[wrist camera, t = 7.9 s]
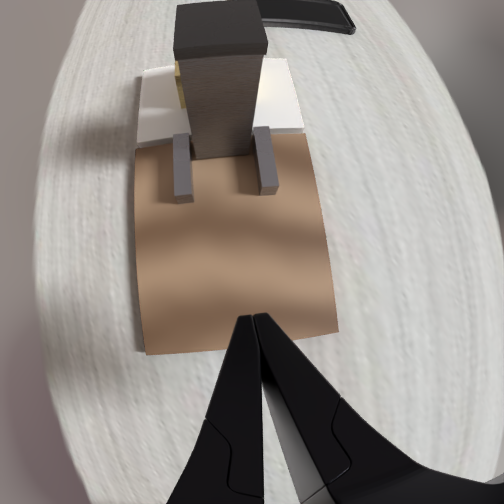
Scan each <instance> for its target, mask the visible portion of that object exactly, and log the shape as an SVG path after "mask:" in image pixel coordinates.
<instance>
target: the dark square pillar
mask: <svg viewBox="0 0 504 504" xmlns="http://www.w3.org/2000/svg"><path fill="white" fill-rule="evenodd" d="M267 48H268V40H267V36H266V33H265V29H264V25H263V22H262V18H261V15H260V11H259V8H258V5H257V1H256V0H232V1H213V2H201V3H191V4H183V5H177V10H176V20H175V32H174V45H173V51H174V57H175V61H178V65H179V71H180V76H181V82H182V88H183V93H184V98H185V104H186V109H187V114H188V119H189V124H190V129H191V134H192V139H193V144H194V149H195V154H196V159H205V158H214V157H225V156H236V155H249V149H250V142H251V135H252V128H253V121H254V115H255V108H256V101H257V95H258V88H259V81H260V75H261V68H262V62H263V56H264V55H266V53H267Z"/></svg>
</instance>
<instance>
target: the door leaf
mask: <svg viewBox="0 0 504 504" xmlns="http://www.w3.org/2000/svg"><path fill="white" fill-rule="evenodd" d="M251 138H252V135H251ZM271 140H272V146H273V151H274V157H275V163H276V169H277V175H278V181H279V188H278V190H277V192H276V195H267V196H259V189H258V182H257V175H256V167H255V160H254V153H253V146H252V139H251V142H250V149H249V155H236V156H225V157H214V158H205V159H196V154H195V149H194V144H193V141H191V148H192V169H193V186H194V203H186V204H178V202H177V200H176V198H175V196H174V171H173V143H170V144H163V145H156V146H150V147H144V148H138V149H136V151H135V181H134V218H135V249H136V267H137V281H138V293H139V303H140V313H141V322H142V330H143V338H144V345H145V352H146V355H160V354H176V353H190V352H202V351H213V350H223V349H227V348H228V345H229V342H230V339H231V335H232V332H233V329H234V326H235V323H236V320H237V317H238V316H240V315H248V314H251V315H252V316H253V315H254V314H256V313H264V312H267V313H269V314H270V316H271V317H272V318H273V319H274V320H275V321H276V323H277V324H278V325H279V326H280V327H281V328H282V330H283V331H284V332H285V333H286V334H287V335H288V336H289V338H290V339H291V340H297V339H303V338H309V337H315V336H321V335H326V334H331V333H336V332H339V330H338V321H337V312H336V304H335V296H334V288H333V280H332V273H331V266H330V260H329V253H328V247H327V240H326V234H325V228H324V223H323V217H322V211H321V206H320V201H319V195H318V190H317V185H316V180H315V175H314V170H313V166H312V161H311V156H310V152H309V147H308V143H307V139H306V134H305V133H298V134H271Z"/></svg>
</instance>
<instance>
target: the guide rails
mask: <svg viewBox="0 0 504 504" xmlns="http://www.w3.org/2000/svg"><path fill="white" fill-rule="evenodd" d="M251 139H252V146H253V153H254V160H255V167H256V175H257V182H258V189H259V196H267V195H276V192H277V190H278V188H279V181H278V175H277V169H276V163H275V157H274V151H273V146H272V140H271V134H270V129H269V126H259V127H253V132H252V138H251ZM173 171H174V196H175V198H176V200H177V202H178V204H186V203H194V186H193V169H192V148H191V140H190V136H189V133H181V134H173Z"/></svg>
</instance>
